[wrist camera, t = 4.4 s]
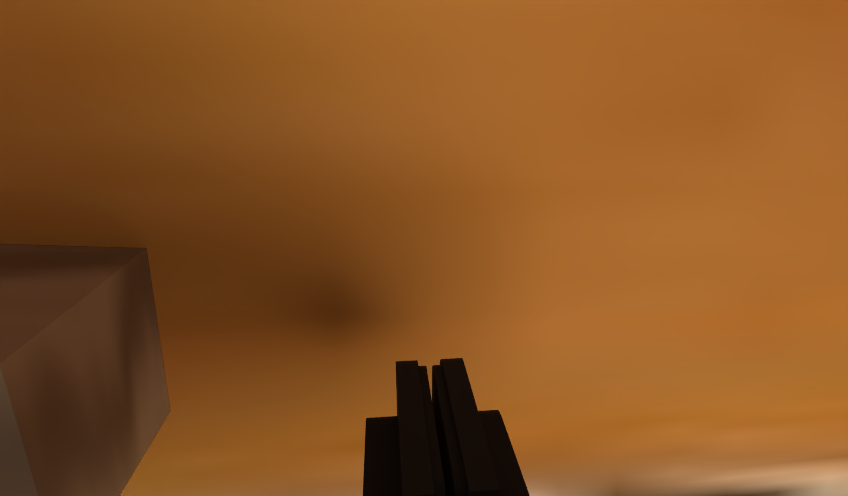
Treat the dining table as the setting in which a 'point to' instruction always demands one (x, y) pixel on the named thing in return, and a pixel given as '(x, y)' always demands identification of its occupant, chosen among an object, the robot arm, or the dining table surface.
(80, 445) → the walnut block
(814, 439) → the dining table surface
